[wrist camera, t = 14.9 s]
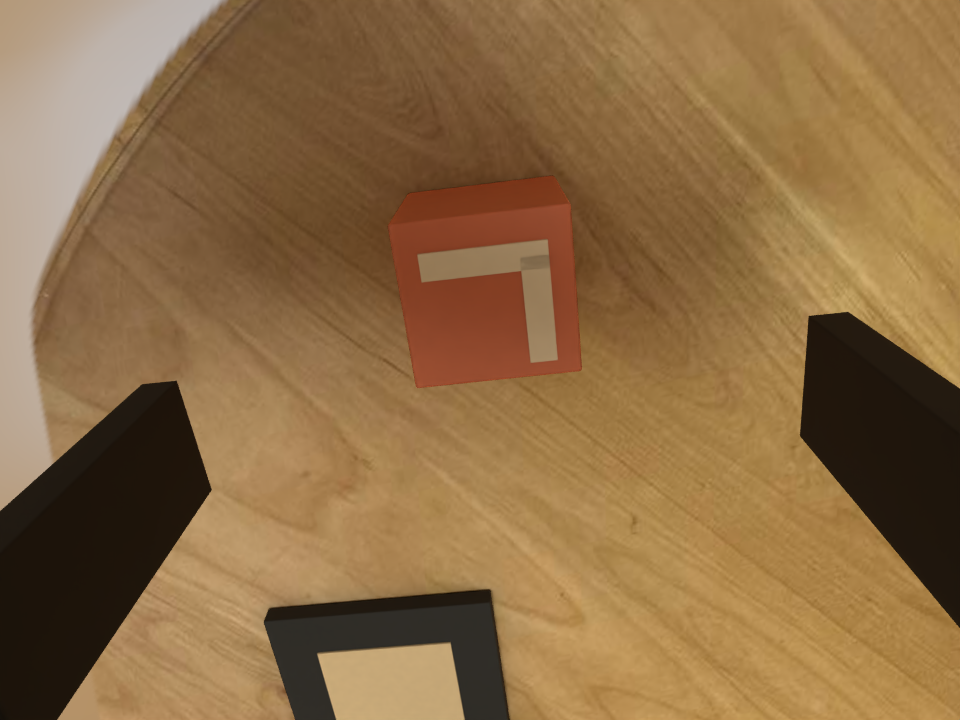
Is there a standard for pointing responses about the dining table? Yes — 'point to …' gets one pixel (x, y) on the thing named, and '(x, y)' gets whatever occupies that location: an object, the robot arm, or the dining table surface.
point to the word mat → (391, 659)
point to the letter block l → (487, 281)
